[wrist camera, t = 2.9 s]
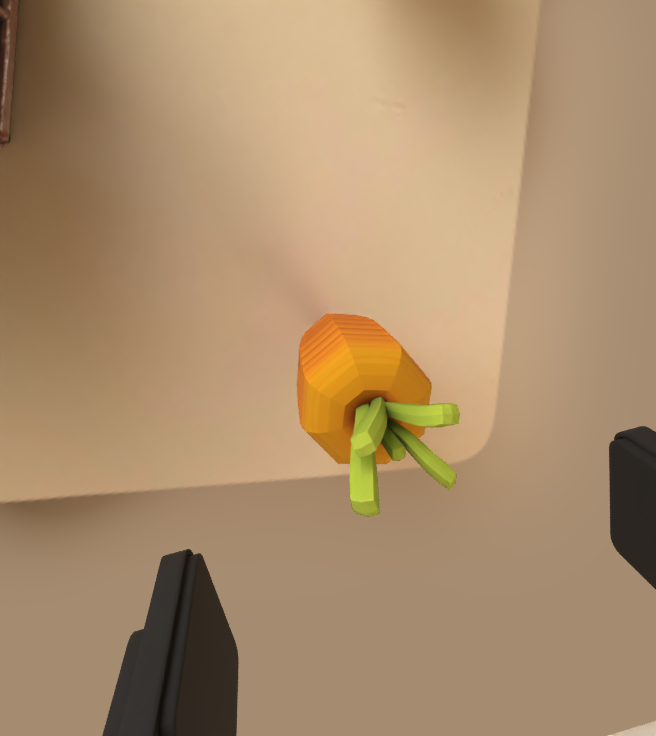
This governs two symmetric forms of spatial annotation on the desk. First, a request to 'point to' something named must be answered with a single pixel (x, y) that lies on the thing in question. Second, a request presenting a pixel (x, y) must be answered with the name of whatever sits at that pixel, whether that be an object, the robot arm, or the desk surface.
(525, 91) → the desk surface
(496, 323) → the desk surface
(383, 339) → the carrot
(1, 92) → the letter holder
